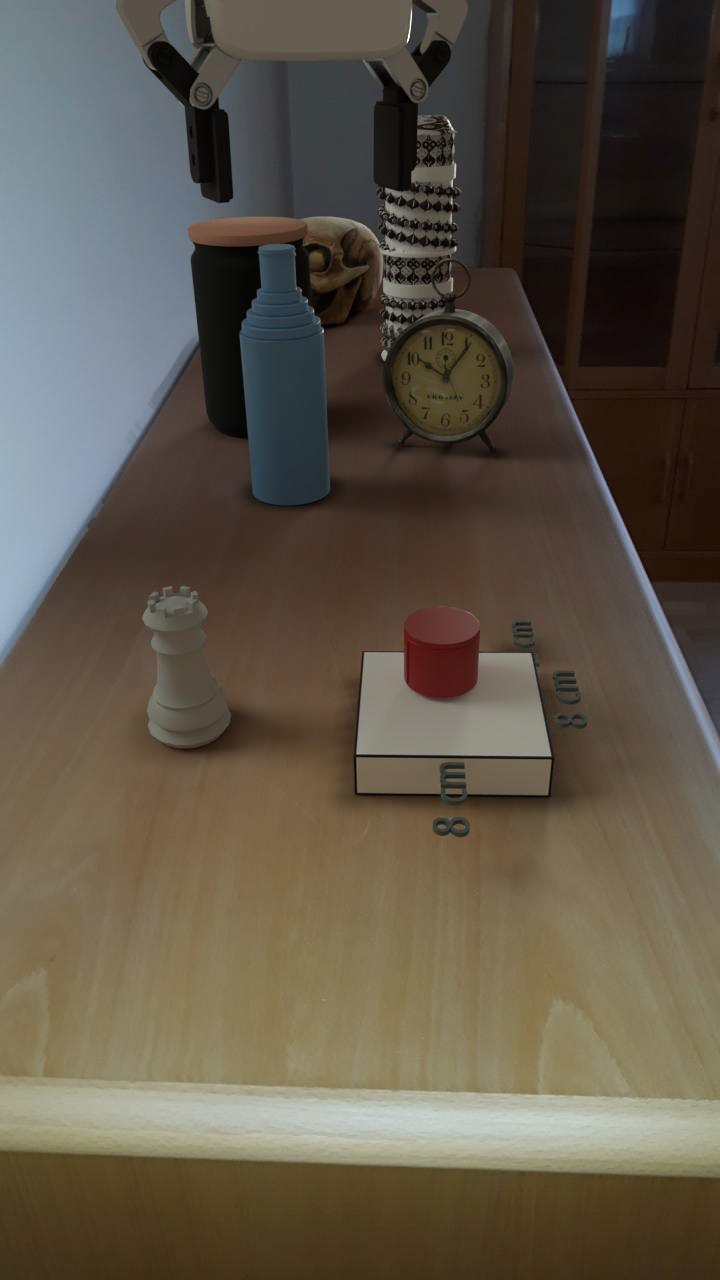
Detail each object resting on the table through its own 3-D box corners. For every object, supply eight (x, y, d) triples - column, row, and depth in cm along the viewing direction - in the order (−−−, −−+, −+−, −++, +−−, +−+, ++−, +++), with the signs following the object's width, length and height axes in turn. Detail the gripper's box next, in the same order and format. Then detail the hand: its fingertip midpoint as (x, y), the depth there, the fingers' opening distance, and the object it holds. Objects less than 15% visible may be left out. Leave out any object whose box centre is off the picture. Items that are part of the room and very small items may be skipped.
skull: (258, 329, 127) (256, 217, 122) (275, 313, 143) (273, 213, 137) (379, 333, 127) (382, 220, 121) (382, 316, 142) (385, 216, 137)
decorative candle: (361, 356, 116) (356, 117, 103) (417, 342, 121) (419, 112, 108) (415, 372, 110) (418, 119, 97) (472, 356, 115) (481, 114, 102)
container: (366, 637, 61) (365, 599, 59) (553, 638, 60) (556, 600, 59) (348, 873, 44) (346, 828, 42) (609, 877, 43) (616, 832, 42)
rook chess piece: (131, 735, 53) (108, 605, 49) (188, 695, 56) (170, 569, 52) (193, 762, 51) (175, 628, 46) (248, 719, 54) (236, 590, 50)
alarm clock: (382, 451, 89) (380, 261, 80) (397, 431, 93) (397, 250, 85) (502, 461, 86) (513, 266, 78) (512, 440, 90) (524, 254, 82)
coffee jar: (274, 398, 103) (262, 212, 94) (338, 422, 96) (332, 224, 86) (186, 421, 97) (164, 226, 88) (248, 449, 90) (230, 239, 81)
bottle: (245, 504, 79) (223, 254, 69) (261, 474, 85) (243, 239, 75) (323, 506, 78) (312, 254, 69) (335, 476, 84) (326, 239, 74)
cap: (423, 706, 50) (424, 651, 48) (390, 668, 53) (390, 616, 51) (491, 687, 51) (494, 633, 49) (455, 651, 54) (456, 600, 53)
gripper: (433, -213, 47) (422, 177, 56) (69, -250, 41) (122, 195, 50) (518, -249, 42) (491, 192, 50) (109, -298, 35) (161, 215, 44)
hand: (307, 193), depth 50 cm, fingers open, 9 cm apart
